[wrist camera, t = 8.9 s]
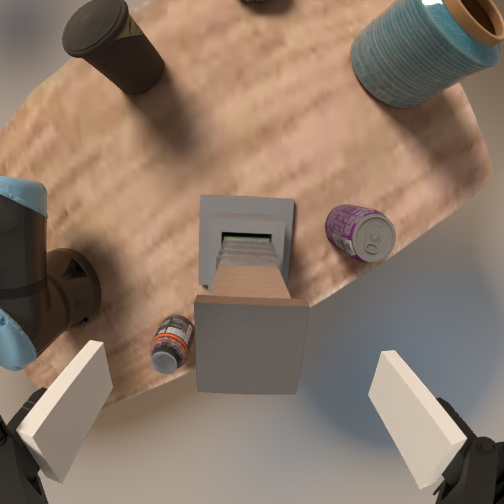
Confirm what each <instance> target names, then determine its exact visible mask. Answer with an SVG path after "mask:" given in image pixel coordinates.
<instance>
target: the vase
mask: <svg viewBox="0 0 504 504" xmlns="http://www.w3.org/2000/svg"><path fill="white" fill-rule="evenodd" d="M503 40H504V20H503V17H502V16H501V13H500V12H499V10H498V9H497V7H496V6H495V4H494V3H493V2H492V0H396V1H394V3H392V4H391V5H390V6H389V7H388V8H387V9H386V10H385V11H383V13H381V14H380V15H379V16H377V17H376V18H375V19H374V20H373V21H372V22H371V23H370V24H369V25H368V26H367V27H366V28H365V29H364V30H363V31H362V32H361V33H360V34H359V35H358V36H357V37H356V38H355V39H354V41H353V43H352V46H351V53H350V54H351V62H352V66H353V69H354V71H355V73H356V75H357V77H358V79H359V80H360V82H361V83H362V84H363V86H364V87H365V88H366V89H367V90H368V91H369V92H370V93H371V94H372V95H373V96H375V97H376V98H377V99H379V100H381V101H382V102H384V103H386V104H388V105H391V106H395V107H399V108H409V107H413V106H416V105H418V104H420V103H422V102H424V101H426V100H428V99H430V98H432V97H434V96H436V95H438V94H439V93H441V92H443V91H444V90H445V89H447V88H449V87H451V86H453V85H455V84H457V83H459V82H461V81H463V80H465V79H467V78H469V77H471V76H473V75H475V74H477V73H479V72H481V71H483V70H485V69H487V68H490V67H492V66H494V65H495V64H496V63H497V62H498V60H499V57H500V44H499V42H501V41H503Z"/></svg>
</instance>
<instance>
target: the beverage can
mask: <svg viewBox="0 0 504 504" xmlns="http://www.w3.org/2000/svg"><path fill="white" fill-rule="evenodd" d="M325 231H326V235H327V237H328V239H329V240H330V242H331V243H332V244H334V245H335V246H337V247H338V248H340V249H341V250H343V251H344V252H346V253H347V254H349V255H350V256H352V257H353V258H355V259H356V260H358V261H361V262H378V261H381V260H383V259H384V258H386V257H387V256H388V255H389V254H390V252H391V251H392V249H393V247H394V244H395V237H396V236H395V229H394V227H393V225H392V223H391V221H390V220H389V219H388V218H386V216H385V215H384V214H382V213H381V212H379V211H377V210H373V209H369V208H364V207H358V206H353V205H340V206H338V207H336V208H334V209H333V210H332V211H331V212H330V213H329V215H328V217H327V219H326V223H325Z"/></svg>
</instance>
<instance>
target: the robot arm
mask: <svg viewBox="0 0 504 504" xmlns="http://www.w3.org/2000/svg"><path fill="white" fill-rule="evenodd" d="M47 218H48V214H47V190H46V188H45V186H44V185H43V184H41V183H39V182H36V181H31V180H25V179H19V178H13V177H5V176H0V366H2V367H4V368H6V369H9V370H12V371H19V370H21V369H23V368H25V367H26V366H27V365H28V364H30V363H31V362H34V361H35V360H36V358H37V357H38V356H39V355H40V354H41V353H42V352H43V351H44V350H45V349H46V348H47V347H48V346H49V345H50V344H51V343H52V342H53V341H55V340H56V339H57V338H58V337H59V336H60V335H61V334H62V333H63V332H64V331H67V330H71V329H76V328H79V327H82V326H84V325H86V324H87V323H88V322H89V321H90V320H91V319H93V318H94V316H95V315H96V314H97V312H98V310H99V307H100V302H101V290H100V285H99V281H98V278H97V276H96V273H95V271H94V270H93V268H92V266H91V265H90V264H89V262H88V261H87V260H86V259H85V258H84V257H83V256H82V255H80V254H79V253H77V252H76V251H74V250H71V249H67V248H58V249H55V250H52V251H50V252H48V253H46V229H47ZM112 389H113V384H112V380H111V376H110V372H109V367H108V363H107V358H106V353H105V348H104V342H98V341H92V340H90V341H89V342H88V343H87V344H86V345H85V346H84V347H83V349H82V350H81V351H80V352H79V353H78V354H77V355H76V357H75V358H74V359H73V360H72V361H71V362H70V363H69V365H68V366H67V367H66V368H65V369H64V370H63V372H62V373H61V374H60V375H59V376H58V378H57V379H56V380H55V381H54V382H53V384H52V385H51V386H50V387H49V388H48V389H46V388H43V387H42V388H41V389H39V390H37V391H36V392H34V393H33V394H32V395H31V397H30V398H29V399H28V401H27V402H25V404H24V405H23V407H21V408H20V410H19V411H18V412H17V413H16V414H15V416H14V417H13V418H12V419H11V421H10V422H9V423H8V424H7V426H6V424H5V422H4V421H3V419H2V417H1V415H0V504H48V501H47V498H46V495H45V492H44V489H43V486H42V483H41V480H40V478H39V476H38V474H37V473H38V471H39V470H40V469H41V470H42V472H43V473H44V474H45V476H46V477H48V478H50V479H52V480H55V481H57V482H60V483H63V481H64V479H65V477H66V475H67V473H68V471H69V469H70V467H71V465H72V463H73V461H74V459H75V457H76V455H77V453H78V451H79V449H80V447H81V446H82V444H83V442H84V440H85V438H86V436H87V434H88V432H89V431H90V429H91V427H92V425H93V423H94V421H95V419H96V418H97V416H98V414H99V412H100V410H101V409H102V407H103V405H104V403H105V401H106V400H107V398H108V396H109V394H110V393H111V391H112ZM368 396H369V397H370V399H371V401H372V403H373V405H374V406H375V408H376V410H377V412H378V413H379V415H380V417H381V419H382V420H383V422H384V424H385V426H386V428H387V429H388V431H389V433H390V435H391V437H392V438H393V440H394V442H395V444H396V446H397V448H398V449H399V451H400V453H401V455H402V457H403V458H404V460H405V462H406V464H407V466H408V468H409V470H410V471H411V473H412V475H413V477H414V479H415V481H416V483H417V485H418V487H419V489H421V488H424V487H426V486H429V485H431V484H434V483H435V482H436V481H437V480H438V478H439V477H440V476H441V475H442V476H443V477H444V481H443V482H442V483H441V484H440V486H439V487H438V488H437V489H436V490H435V492H434V493H433V495H435V494H436V493H437V492H438V491H439V490H440V491H439V494H438V498H437V500H436V504H504V442H498V443H495V442H494V441H493V440H492V439H490V438H487V437H477V436H476V435H475V434H474V433H473V431H472V430H471V429H470V428H469V427H468V425H467V424H466V423H465V422H464V421H463V419H462V418H461V417H459V415H458V413H457V412H455V410H454V409H453V407H451V405H450V404H449V403H448V402H446V401H445V400H443V399H441V398H436V399H435V397H434V396H433V395H432V394H431V393H430V392H429V390H428V389H427V388H426V387H425V385H424V384H423V383H422V382H421V381H420V380H419V378H418V377H417V376H416V375H415V374H414V373H413V371H412V370H411V369H410V368H409V367H408V366H407V364H406V363H405V362H404V361H403V360H402V359H401V357H400V356H399V355H398V354H397V353H396V352H395V350H393V351H383V352H381V355H380V359H379V362H378V365H377V369H376V372H375V375H374V379H373V382H372V385H371V388H370V391H369V394H368Z"/></svg>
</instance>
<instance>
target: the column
mask: <svg viewBox="0 0 504 504" xmlns="http://www.w3.org/2000/svg"><path fill="white" fill-rule="evenodd" d="M269 241H270V239H269V238H265V237H243V236H224V240H223V244H221V249H219V256H217V257H216V275H215V279H214V282H213V285H212V289H211V292H210V295H197V296H196V299H195V301H194V320H195V351H196V373H197V390H198V392H212V393H228V394H296V391H297V386H298V380H299V374H300V368H301V362H302V356H303V349H304V342H305V335H306V328H307V321H308V314H309V304H308V303H307V301H306V299H291V297H290V294H289V292H288V290H287V287H286V285H285V283H284V280H283V278H282V276H281V273H280V271H279V270H280V259H279V258H277V253H276V252H274V247H272V243H271V242H269Z"/></svg>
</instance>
